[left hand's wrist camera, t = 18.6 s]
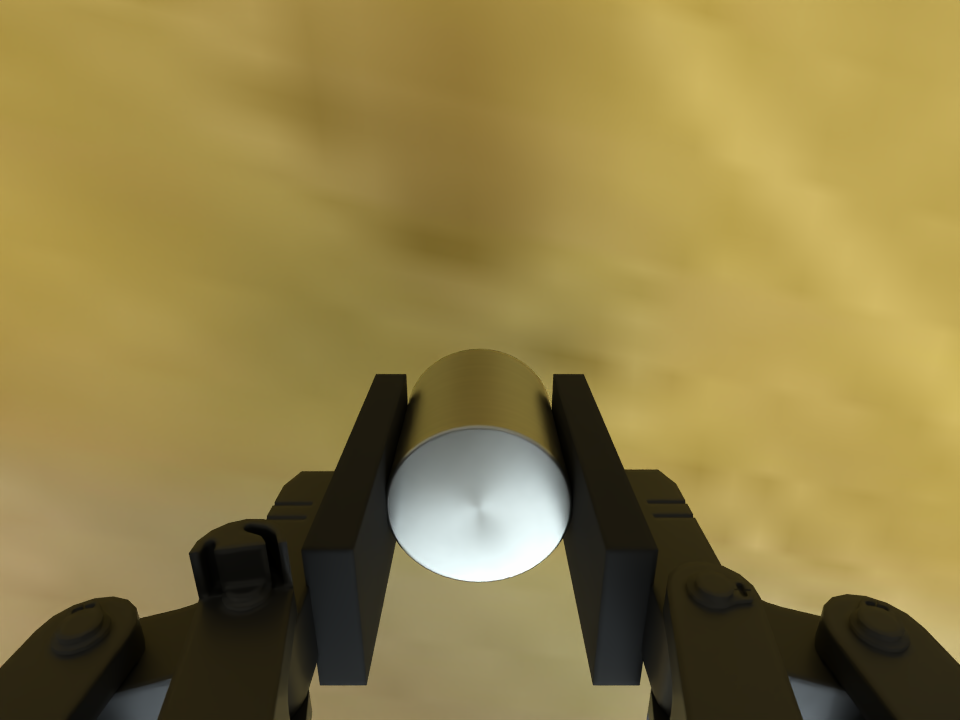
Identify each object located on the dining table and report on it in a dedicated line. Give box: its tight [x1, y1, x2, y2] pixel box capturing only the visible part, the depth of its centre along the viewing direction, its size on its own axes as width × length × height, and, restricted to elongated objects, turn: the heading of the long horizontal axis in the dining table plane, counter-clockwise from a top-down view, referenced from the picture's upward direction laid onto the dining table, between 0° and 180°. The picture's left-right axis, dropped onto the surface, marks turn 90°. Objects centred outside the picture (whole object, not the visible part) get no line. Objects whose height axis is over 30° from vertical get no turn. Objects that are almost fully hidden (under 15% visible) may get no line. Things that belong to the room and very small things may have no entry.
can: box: [386, 349, 573, 582], centre depth 13 cm, size 4×4×4 cm
